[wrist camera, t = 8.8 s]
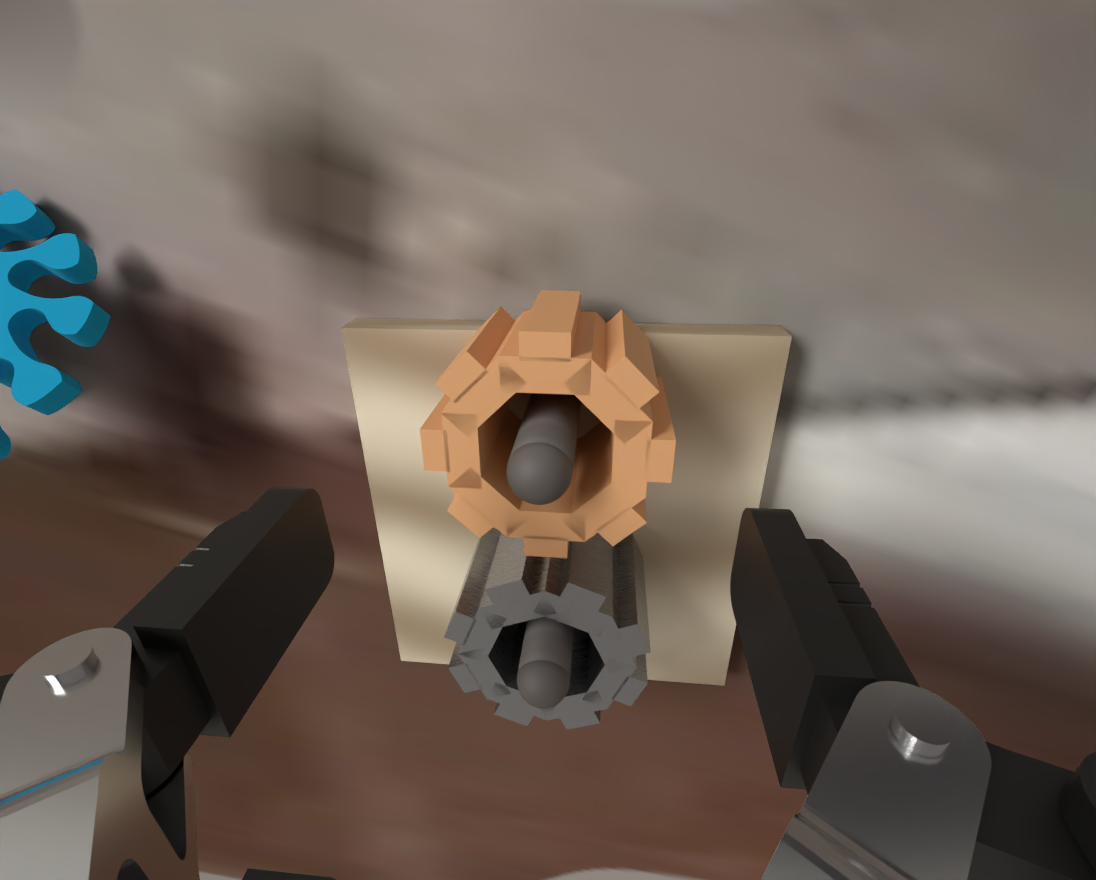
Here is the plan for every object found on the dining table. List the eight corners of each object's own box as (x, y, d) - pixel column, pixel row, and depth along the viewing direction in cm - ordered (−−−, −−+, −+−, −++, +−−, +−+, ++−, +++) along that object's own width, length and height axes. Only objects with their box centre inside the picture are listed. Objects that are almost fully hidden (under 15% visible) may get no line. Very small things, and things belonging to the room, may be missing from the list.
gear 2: (447, 523, 21) (409, 609, 17) (607, 474, 19) (606, 557, 15) (517, 642, 23) (497, 742, 19) (664, 607, 22) (676, 709, 18)
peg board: (356, 318, 19) (224, 399, 12) (781, 325, 17) (879, 420, 11) (409, 639, 26) (342, 799, 19) (719, 662, 24) (758, 842, 18)
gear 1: (456, 289, 17) (407, 328, 13) (669, 293, 16) (687, 335, 12) (469, 470, 20) (433, 549, 16) (651, 480, 19) (661, 564, 15)
